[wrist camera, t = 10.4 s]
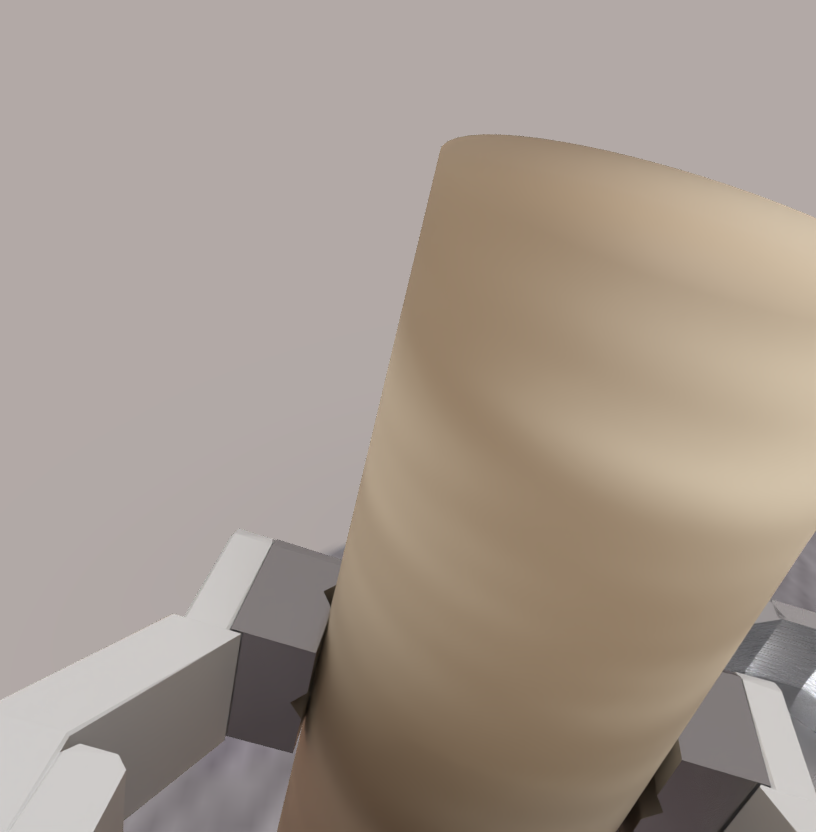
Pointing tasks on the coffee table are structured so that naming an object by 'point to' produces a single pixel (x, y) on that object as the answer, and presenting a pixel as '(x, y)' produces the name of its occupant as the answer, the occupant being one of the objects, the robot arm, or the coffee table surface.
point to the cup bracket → (785, 666)
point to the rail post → (562, 492)
